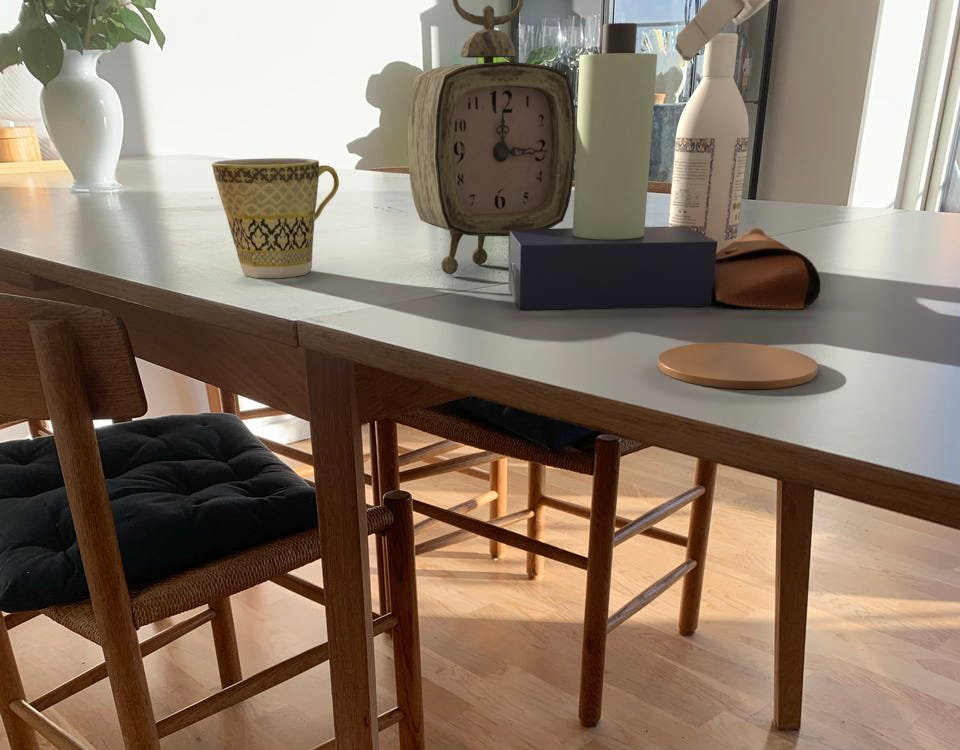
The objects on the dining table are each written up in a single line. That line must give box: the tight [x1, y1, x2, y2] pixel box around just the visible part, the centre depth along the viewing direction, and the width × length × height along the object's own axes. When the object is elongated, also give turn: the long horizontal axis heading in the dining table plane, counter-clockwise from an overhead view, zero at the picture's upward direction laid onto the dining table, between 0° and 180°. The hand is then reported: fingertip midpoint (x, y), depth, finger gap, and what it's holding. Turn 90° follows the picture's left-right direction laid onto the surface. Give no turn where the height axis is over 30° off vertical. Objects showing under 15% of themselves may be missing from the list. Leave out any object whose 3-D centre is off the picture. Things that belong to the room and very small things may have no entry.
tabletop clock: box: [406, 0, 576, 275], centre depth 90 cm, size 14×9×25 cm, turn 114°
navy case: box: [507, 226, 718, 311], centre depth 81 cm, size 16×10×5 cm, turn 94°
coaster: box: [657, 342, 819, 390], centre depth 61 cm, size 10×10×1 cm
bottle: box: [572, 22, 658, 240], centre depth 76 cm, size 6×6×15 cm
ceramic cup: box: [211, 157, 340, 279], centre depth 93 cm, size 13×10×10 cm
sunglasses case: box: [712, 227, 822, 310], centre depth 84 cm, size 18×7×7 cm
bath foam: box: [667, 32, 750, 252], centre depth 93 cm, size 7×7×20 cm
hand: (680, 52), depth 73 cm, fingers open, 8 cm apart
